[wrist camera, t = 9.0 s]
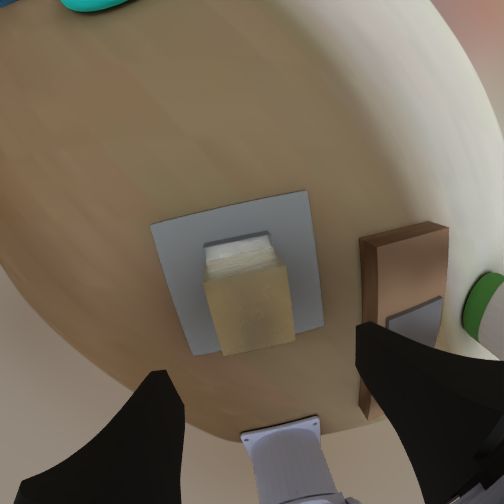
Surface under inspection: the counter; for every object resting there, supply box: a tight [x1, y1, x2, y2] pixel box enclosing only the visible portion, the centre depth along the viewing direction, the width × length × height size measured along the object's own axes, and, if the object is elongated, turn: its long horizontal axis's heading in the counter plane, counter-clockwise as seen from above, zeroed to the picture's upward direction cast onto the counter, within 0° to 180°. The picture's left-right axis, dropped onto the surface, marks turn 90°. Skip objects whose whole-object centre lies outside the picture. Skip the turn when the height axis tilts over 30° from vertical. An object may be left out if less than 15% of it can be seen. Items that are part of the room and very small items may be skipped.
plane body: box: [359, 221, 449, 420], centre depth 20 cm, size 18×7×3 cm, turn 11°
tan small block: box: [203, 230, 296, 356], centre depth 16 cm, size 6×4×5 cm, turn 10°
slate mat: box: [150, 190, 324, 356], centre depth 18 cm, size 10×10×1 cm
